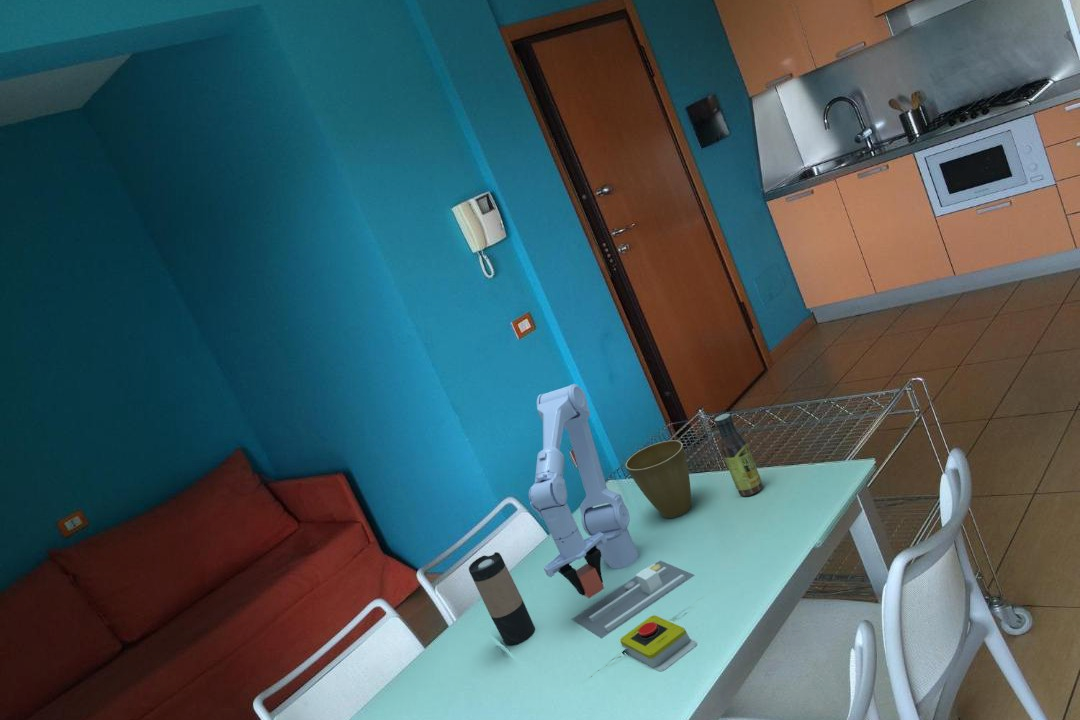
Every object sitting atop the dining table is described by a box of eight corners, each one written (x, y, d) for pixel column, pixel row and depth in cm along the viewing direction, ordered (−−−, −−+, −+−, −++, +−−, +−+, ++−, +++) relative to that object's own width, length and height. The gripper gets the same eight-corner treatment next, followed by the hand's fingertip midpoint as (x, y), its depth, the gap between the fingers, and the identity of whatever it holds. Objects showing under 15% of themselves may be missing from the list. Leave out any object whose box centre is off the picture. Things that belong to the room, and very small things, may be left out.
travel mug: (515, 656, 193) (476, 574, 189) (501, 646, 200) (462, 567, 196) (544, 635, 196) (506, 555, 192) (529, 626, 203) (492, 549, 199)
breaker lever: (642, 591, 193) (635, 574, 192) (653, 583, 194) (646, 567, 193) (653, 596, 189) (645, 579, 188) (664, 588, 190) (657, 572, 189)
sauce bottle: (759, 495, 216) (728, 421, 212) (735, 499, 220) (705, 426, 216) (767, 482, 221) (737, 409, 218) (744, 485, 225) (714, 414, 221)
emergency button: (647, 606, 181) (691, 625, 167) (655, 625, 182) (700, 645, 168) (610, 633, 177) (653, 654, 164) (619, 652, 178) (662, 675, 164)
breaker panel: (574, 625, 195) (569, 615, 194) (662, 566, 203) (658, 556, 203) (604, 644, 182) (599, 634, 181) (697, 581, 190) (692, 570, 190)
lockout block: (580, 593, 195) (571, 573, 194) (595, 583, 196) (586, 563, 195) (589, 598, 191) (579, 578, 190) (604, 588, 192) (595, 567, 192)
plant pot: (644, 532, 224) (618, 474, 221) (657, 503, 237) (633, 449, 235) (700, 518, 218) (675, 459, 215) (711, 490, 231) (687, 434, 228)
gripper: (544, 554, 185) (570, 611, 187) (601, 518, 190) (627, 574, 192) (530, 547, 191) (556, 602, 194) (586, 512, 196) (611, 566, 199)
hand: (590, 587), depth 193 cm, fingers closed on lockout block, 4 cm apart
